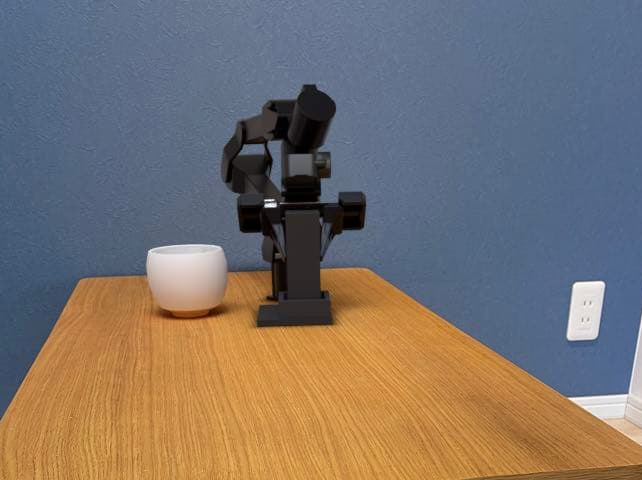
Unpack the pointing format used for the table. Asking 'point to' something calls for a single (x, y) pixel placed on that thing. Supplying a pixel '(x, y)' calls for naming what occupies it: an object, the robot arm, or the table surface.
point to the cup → (187, 278)
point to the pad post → (303, 254)
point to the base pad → (296, 311)
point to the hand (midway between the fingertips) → (303, 260)
